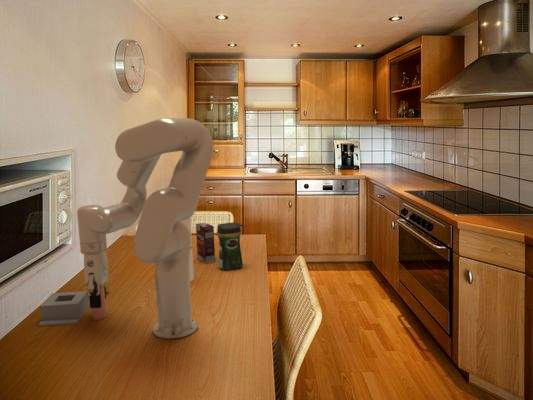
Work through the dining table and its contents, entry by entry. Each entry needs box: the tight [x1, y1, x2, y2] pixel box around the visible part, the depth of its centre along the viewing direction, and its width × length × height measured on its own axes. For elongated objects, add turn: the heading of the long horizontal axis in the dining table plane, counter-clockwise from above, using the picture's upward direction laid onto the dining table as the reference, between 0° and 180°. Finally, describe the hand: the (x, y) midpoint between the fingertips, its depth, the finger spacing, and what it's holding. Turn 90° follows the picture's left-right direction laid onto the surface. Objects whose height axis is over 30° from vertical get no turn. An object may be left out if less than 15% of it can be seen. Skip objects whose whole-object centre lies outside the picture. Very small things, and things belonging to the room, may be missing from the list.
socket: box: [38, 290, 90, 327], centre depth 146 cm, size 16×11×5 cm
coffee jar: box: [216, 221, 244, 271], centre depth 189 cm, size 10×8×19 cm
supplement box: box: [195, 222, 216, 264], centre depth 200 cm, size 9×5×16 cm, turn 33°
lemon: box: [105, 277, 110, 291], centre depth 163 cm, size 6×6×8 cm
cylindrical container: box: [181, 216, 195, 282], centre depth 174 cm, size 7×7×25 cm
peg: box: [91, 283, 108, 321], centre depth 142 cm, size 4×4×12 cm
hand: (98, 302), depth 143 cm, fingers open, 5 cm apart
